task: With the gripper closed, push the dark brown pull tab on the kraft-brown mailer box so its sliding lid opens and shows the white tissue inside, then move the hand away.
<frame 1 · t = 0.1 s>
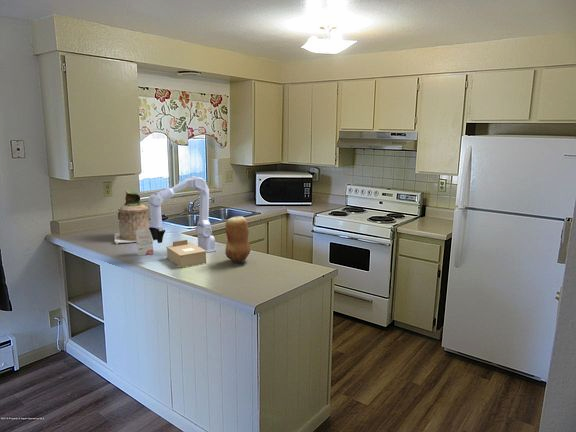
hand: (157, 241, 232), 10 cm above the countertop, tool pointing down, fingers open, 7 cm apart
mailer box: (186, 260, 231), on the countertop
butternut squash: (238, 262, 229), on the countertop
mailer lid: (185, 246, 230), point 8 cm above the countertop, slide at 0.0 cm
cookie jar: (134, 238, 278), on the countertop
ink cartridge box: (145, 254, 244), on the countertop
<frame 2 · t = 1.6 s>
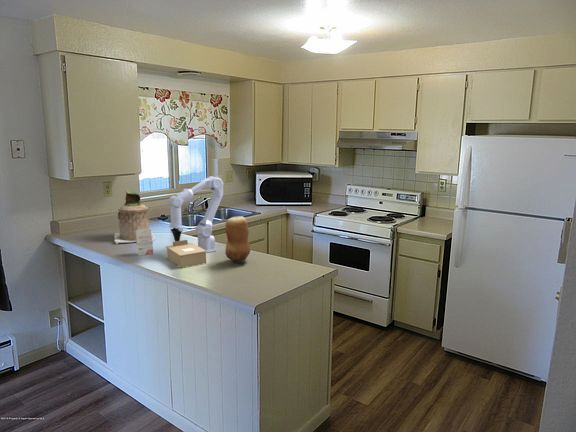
hand: (177, 241, 240), 8 cm above the countertop, tool pointing down, fingers closed
nothing on the countertop moved.
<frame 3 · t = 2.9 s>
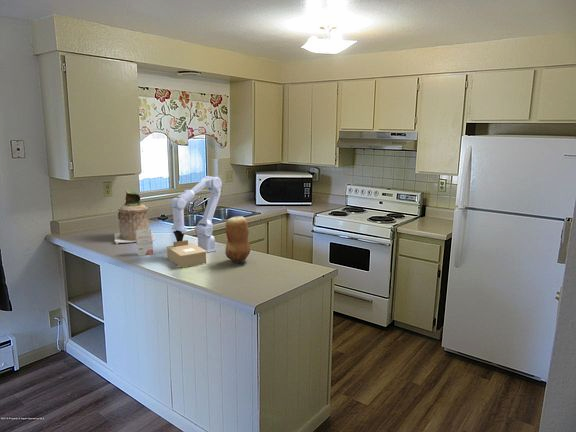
hand: (179, 243, 237), 8 cm above the countertop, tool pointing down, fingers closed
mailer lid: (186, 247, 229), point 8 cm above the countertop, slide at 0.8 cm, touching gripper
everything else where it was.
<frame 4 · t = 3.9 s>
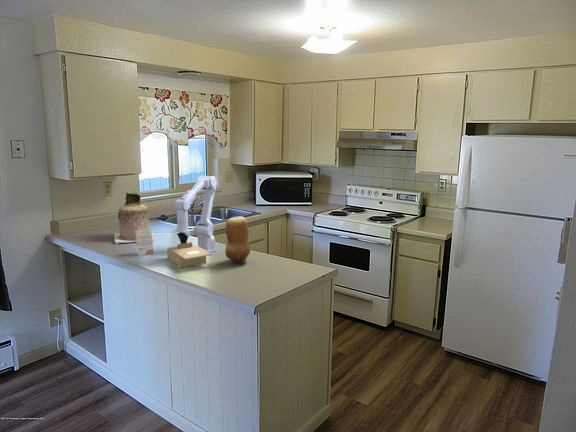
hand: (183, 245, 232), 8 cm above the countertop, tool pointing down, fingers closed
mailer lid: (190, 249, 224), point 8 cm above the countertop, slide at 6.7 cm, touching gripper
everything else where it was.
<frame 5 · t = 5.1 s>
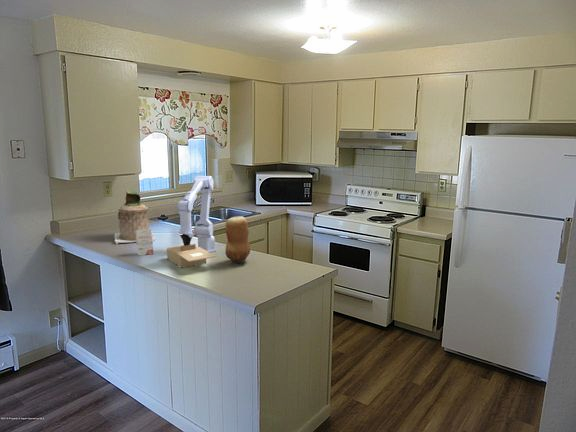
hand: (186, 247, 229), 8 cm above the countertop, tool pointing down, fingers closed
mailer lid: (194, 251, 221), point 8 cm above the countertop, slide at 11.1 cm, touching gripper
everything else where it was.
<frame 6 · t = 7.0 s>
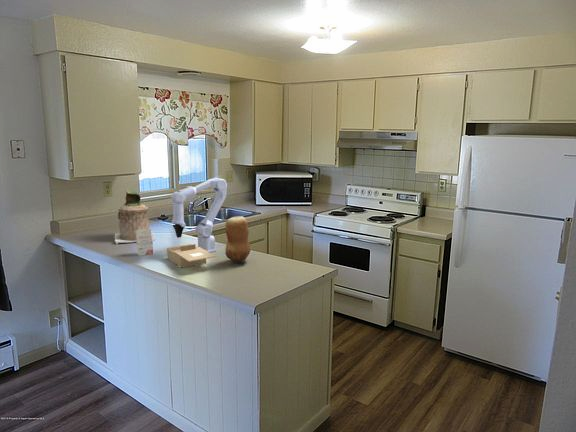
hand: (179, 237, 240), 10 cm above the countertop, tool pointing down, fingers closed
mailer lid: (194, 251, 221), point 8 cm above the countertop, slide at 11.1 cm
everything else where it was.
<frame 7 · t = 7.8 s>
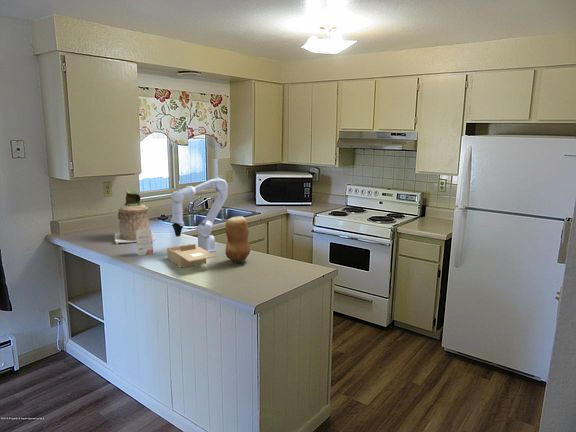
hand: (178, 236, 242), 10 cm above the countertop, tool pointing down, fingers closed
nothing on the countertop moved.
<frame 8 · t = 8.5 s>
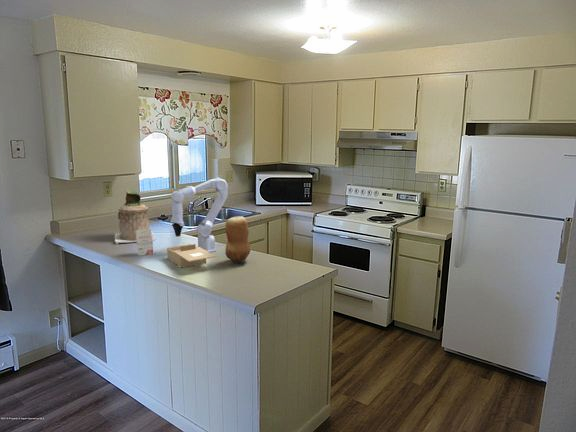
hand: (178, 236, 242), 10 cm above the countertop, tool pointing down, fingers closed
nothing on the countertop moved.
at the end: mailer lid slide at 11.1 cm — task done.
